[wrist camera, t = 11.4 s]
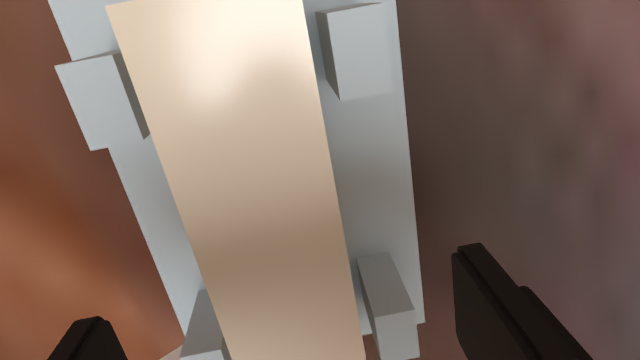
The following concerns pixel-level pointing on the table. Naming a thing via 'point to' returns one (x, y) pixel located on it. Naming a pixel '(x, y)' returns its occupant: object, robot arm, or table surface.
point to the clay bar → (247, 168)
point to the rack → (344, 147)
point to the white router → (173, 354)
